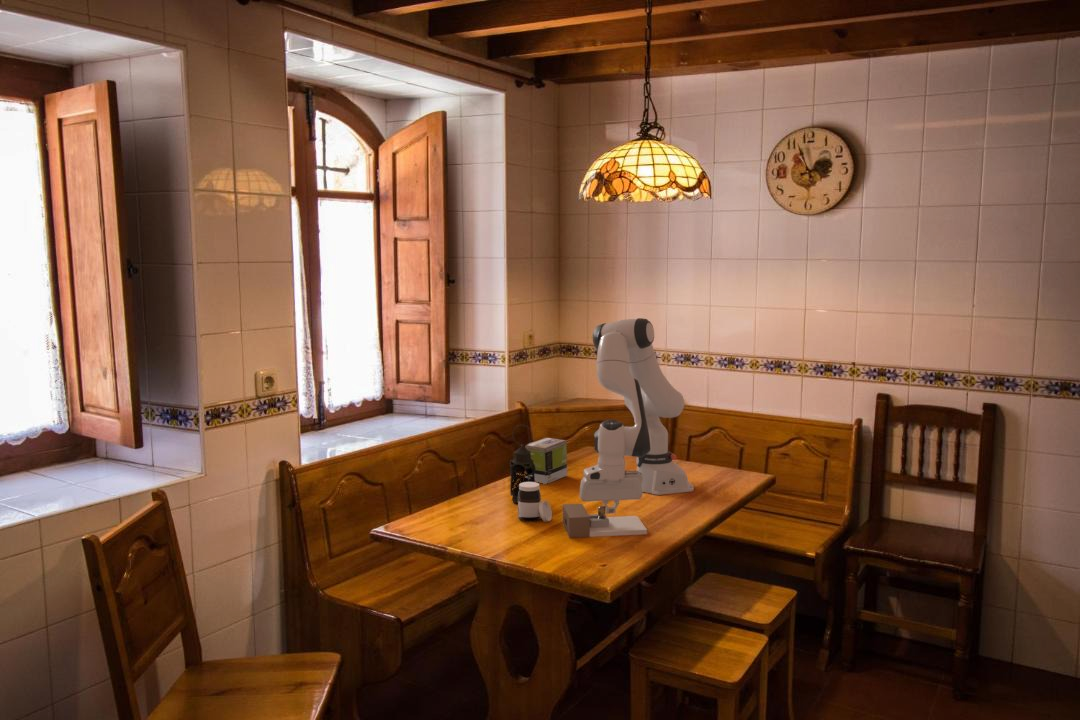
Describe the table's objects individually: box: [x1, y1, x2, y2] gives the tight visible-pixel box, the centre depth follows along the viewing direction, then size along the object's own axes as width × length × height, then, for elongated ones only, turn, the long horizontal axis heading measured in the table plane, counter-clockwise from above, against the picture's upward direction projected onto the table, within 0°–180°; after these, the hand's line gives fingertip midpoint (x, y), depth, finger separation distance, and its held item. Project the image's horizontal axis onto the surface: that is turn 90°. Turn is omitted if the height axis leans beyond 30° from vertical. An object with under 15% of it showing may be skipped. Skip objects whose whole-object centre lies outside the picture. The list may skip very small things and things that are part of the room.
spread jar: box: [517, 482, 553, 523], centre depth 290 cm, size 12×11×12 cm
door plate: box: [562, 503, 648, 539], centre depth 280 cm, size 25×14×6 cm, turn 97°
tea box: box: [524, 437, 568, 485], centre depth 338 cm, size 15×10×15 cm, turn 144°
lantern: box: [509, 424, 536, 504], centre depth 308 cm, size 10×9×28 cm
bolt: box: [590, 505, 608, 519], centre depth 279 cm, size 10×2×6 cm, turn 97°
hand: (610, 513), depth 280 cm, fingers closed
